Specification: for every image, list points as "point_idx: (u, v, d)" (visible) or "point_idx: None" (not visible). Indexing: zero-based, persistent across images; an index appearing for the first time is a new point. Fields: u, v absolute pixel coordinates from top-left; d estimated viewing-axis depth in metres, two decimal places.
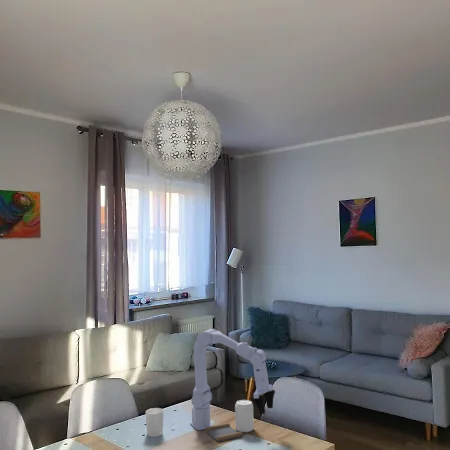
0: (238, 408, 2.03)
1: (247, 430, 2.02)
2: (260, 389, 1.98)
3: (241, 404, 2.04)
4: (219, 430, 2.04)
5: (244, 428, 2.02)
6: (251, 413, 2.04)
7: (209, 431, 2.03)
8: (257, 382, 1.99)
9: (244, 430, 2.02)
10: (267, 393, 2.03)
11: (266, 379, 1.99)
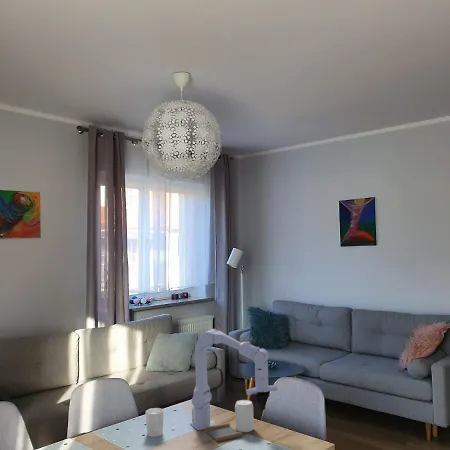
0: (238, 408, 2.03)
1: (247, 430, 2.02)
2: (256, 387, 2.00)
3: (241, 404, 2.04)
4: (219, 430, 2.04)
5: (244, 428, 2.02)
6: (251, 413, 2.04)
7: (209, 431, 2.03)
8: (255, 380, 2.02)
9: (244, 430, 2.02)
10: None
11: (263, 379, 1.99)
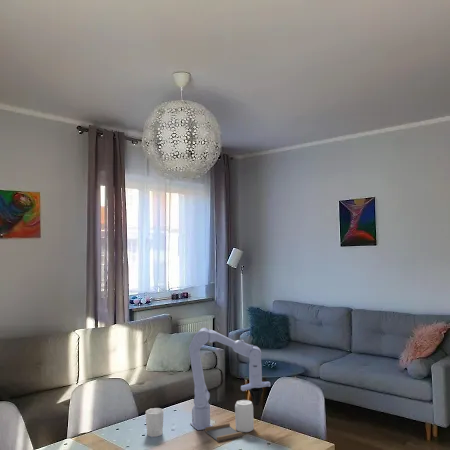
0: (238, 408, 2.03)
1: (247, 430, 2.02)
2: (250, 383, 2.08)
3: (241, 404, 2.04)
4: (219, 430, 2.04)
5: (244, 428, 2.02)
6: (251, 413, 2.04)
7: (209, 431, 2.03)
8: (249, 376, 2.09)
9: (244, 430, 2.02)
10: None
11: (257, 376, 2.07)
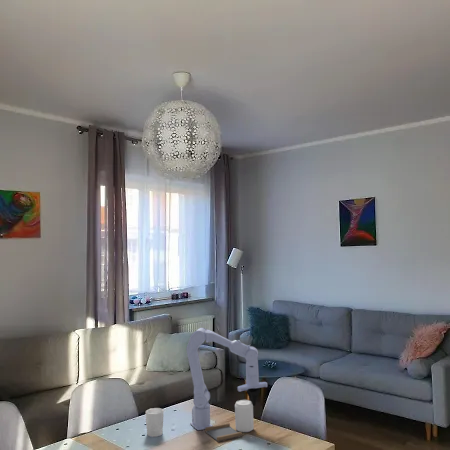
0: (238, 408, 2.03)
1: (247, 430, 2.02)
2: (247, 384, 2.07)
3: (241, 404, 2.04)
4: (219, 430, 2.04)
5: (244, 428, 2.02)
6: (251, 413, 2.04)
7: (209, 431, 2.03)
8: (246, 377, 2.09)
9: (244, 430, 2.02)
10: None
11: (254, 376, 2.06)
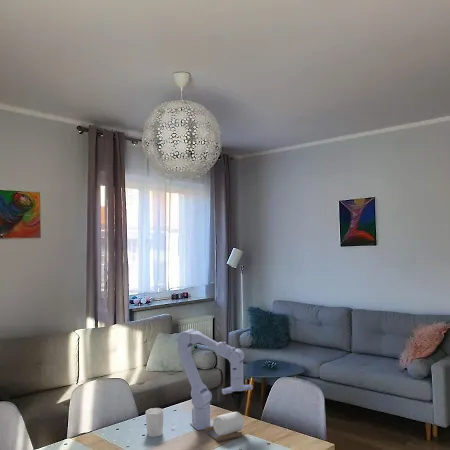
0: None
1: (242, 427, 2.00)
2: (231, 386, 2.04)
3: (220, 431, 1.95)
4: None
5: (240, 429, 2.00)
6: (232, 424, 1.96)
7: (209, 431, 2.03)
8: (231, 379, 2.05)
9: (241, 429, 2.01)
10: (237, 393, 2.06)
11: (238, 379, 2.03)
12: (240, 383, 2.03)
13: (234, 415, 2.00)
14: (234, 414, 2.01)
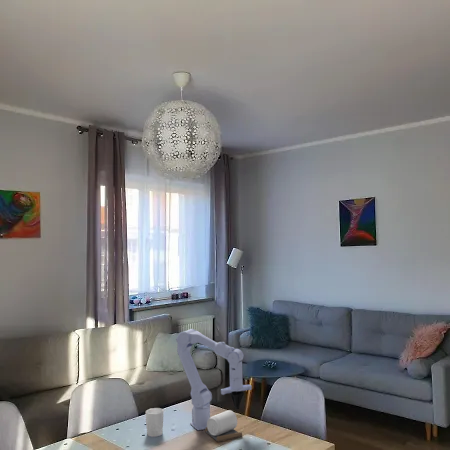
0: (221, 432, 1.96)
1: (235, 417, 2.03)
2: (230, 387, 2.04)
3: (216, 429, 1.96)
4: None
5: (235, 420, 2.02)
6: (222, 416, 2.00)
7: None
8: (230, 379, 2.05)
9: (236, 420, 2.03)
10: None
11: (237, 379, 2.03)
12: (239, 383, 2.03)
13: None
14: None
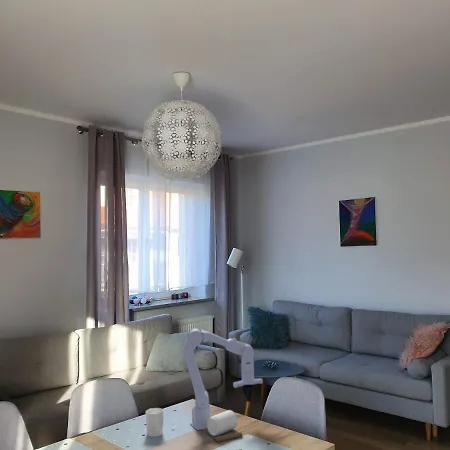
0: (221, 432, 1.96)
1: (235, 417, 2.03)
2: (242, 380, 2.12)
3: (216, 429, 1.96)
4: None
5: (235, 420, 2.02)
6: (222, 416, 1.99)
7: None
8: None
9: (236, 420, 2.03)
10: None
11: (249, 373, 2.11)
12: (251, 377, 2.11)
13: None
14: None
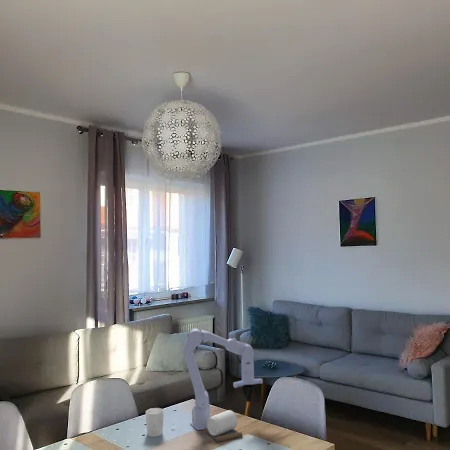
0: (221, 432, 1.96)
1: (235, 417, 2.03)
2: (242, 380, 2.12)
3: (216, 429, 1.96)
4: None
5: (235, 420, 2.02)
6: (222, 416, 2.00)
7: None
8: None
9: (236, 420, 2.03)
10: None
11: (249, 373, 2.11)
12: (251, 377, 2.11)
13: None
14: None
